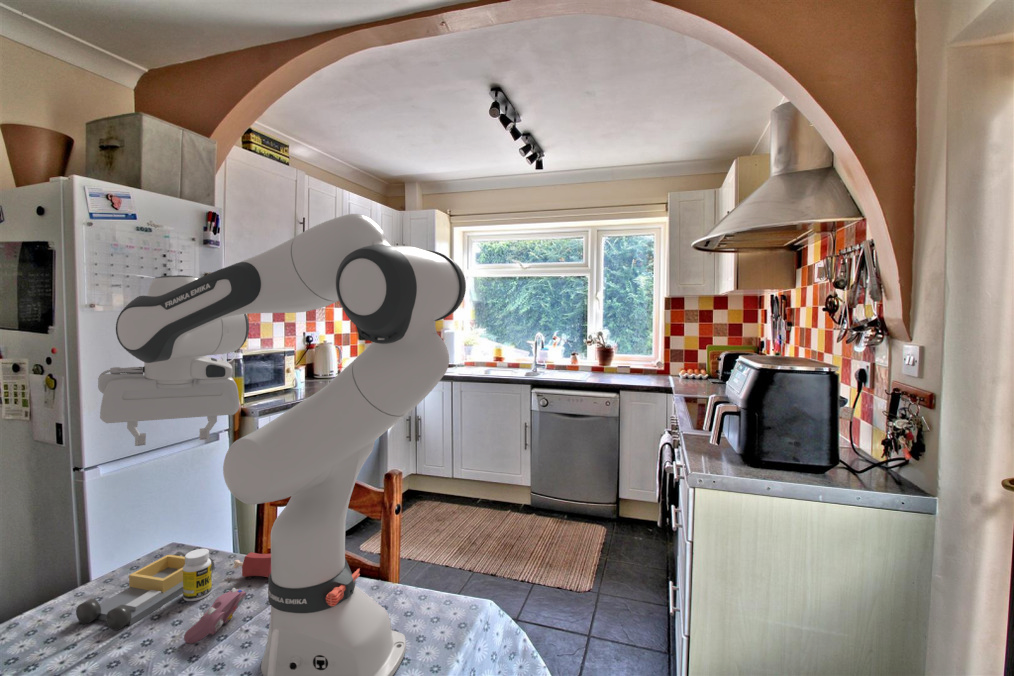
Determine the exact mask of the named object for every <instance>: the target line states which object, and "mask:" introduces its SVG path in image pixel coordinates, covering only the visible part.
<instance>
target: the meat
mask: <svg viewBox="0 0 1014 676" xmlns="http://www.w3.org/2000/svg"><path fill="white" fill-rule="evenodd" d="M239 567H241V575H242V577H244V578H245V577H246V578H250V577H265V578H269V575H270V573H271V553H257V552H253V551H251V552H249V553H247V554H246V555H245V556H244V558H243V561H241V560H240V559H235V560H234V562H233V567H232V568H233V569H238V568H239Z"/></svg>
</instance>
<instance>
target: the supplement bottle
mask: <svg viewBox="0 0 1014 676" xmlns="http://www.w3.org/2000/svg"><path fill="white" fill-rule="evenodd" d="M209 557H210V550H209V549H207V548H197V549H194V550H191V551H188V552H187V553H185V565H184V566H183V593H182V598H183V600H184V601H186V602H196V601H199V600H202V599H206V597H208V596H209V595H210V594H211V593H212V589H213V588H212V586H213V585H212V584H213V583H212V582H213V581H212V579H213V578H212V576H213V575H212V572H211V560H210V559H209Z"/></svg>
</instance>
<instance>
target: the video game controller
mask: <svg viewBox="0 0 1014 676" xmlns="http://www.w3.org/2000/svg"><path fill="white" fill-rule="evenodd" d="M246 595H247V592H246V591H244V590H243V589H241V588H235V587H232V589H230V590H229V591H227V592H225V593H223V594H221V595H219V596H218V597H217V598H216V599H215V600H214V602H213V604H212V605H211V606H210V607H209V608H208V609H207V611H205V613H204V614H203V616H202V617H201V618H200V619H199V620H198V621H197V622H196V623H195V624H194V625H192V626H191V627H189V628H188V629H187V630H186V632H185V634H184V635H183V641H184V642H185V643H186V644H190V645H191V644H196V643H198V642H200V641H202V640H203V639H204V638H206V637H207V636H209V634H210V635H212V636H214V635H215V634H216V633H217V632H218V631H219V630H220V628H221V627H222V625H223V624H226V623H228V621H229V620H232V618H233V616H234V614H235V612H236V610H237V609H238V607H239V606H240V605H241V604H242V603H243V601H244V599H245V598H246Z"/></svg>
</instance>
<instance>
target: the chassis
mask: <svg viewBox="0 0 1014 676" xmlns="http://www.w3.org/2000/svg"><path fill="white" fill-rule="evenodd" d="M185 555H186V553H183V552H182V551H178V552H176V553H173V554H167V555H164V556H163V557H161V558H159V559H157V560H155V561H153V562H151V563H149V564H147V565H145V566H144V567H141V568H140V569H138V570H136V571H134V572H132V573H130V574H129V575H128V578H129V581H128V582H129V586H128V588H126V589H124V590H122V591H120V592H119V593H117V594H115V595H113V596H111V597H110V598H107V599H105V600H104V601H101V603H99V602H98V601H97V600H96V599H93V598H90V599H88V600H86V601H84V602H83V603H82V602H81V604H79V605H77V606H76V610H75V615H76V618H77V620H78V621H79V622H80V623H82V624H83V625H87V624H89V623H91V622H92V621H94V620H101V621H106V624H107V626H108V627H109V628H110V629H112V630H113V631H118V630H121V629H122V628H123V627H125V626H133V625H134V624H136V623H137V622H139V621H140V620H142V619H144V618H145V617H146V616H148V615H150V614H151V613H153V612H155V611H156V610H158V609H159V608H161V607H163V606H164V605H166V604H167V603H169V602H170V601H172V600H173V599H175V598H176V597H177V598H178V596H180V595H181V594H183V566H184V565H185ZM209 559H210V560H211V573H212V572H213V571H214V569H215V561H214V560H213V559H212V558H211V557H210V556H209Z"/></svg>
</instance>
